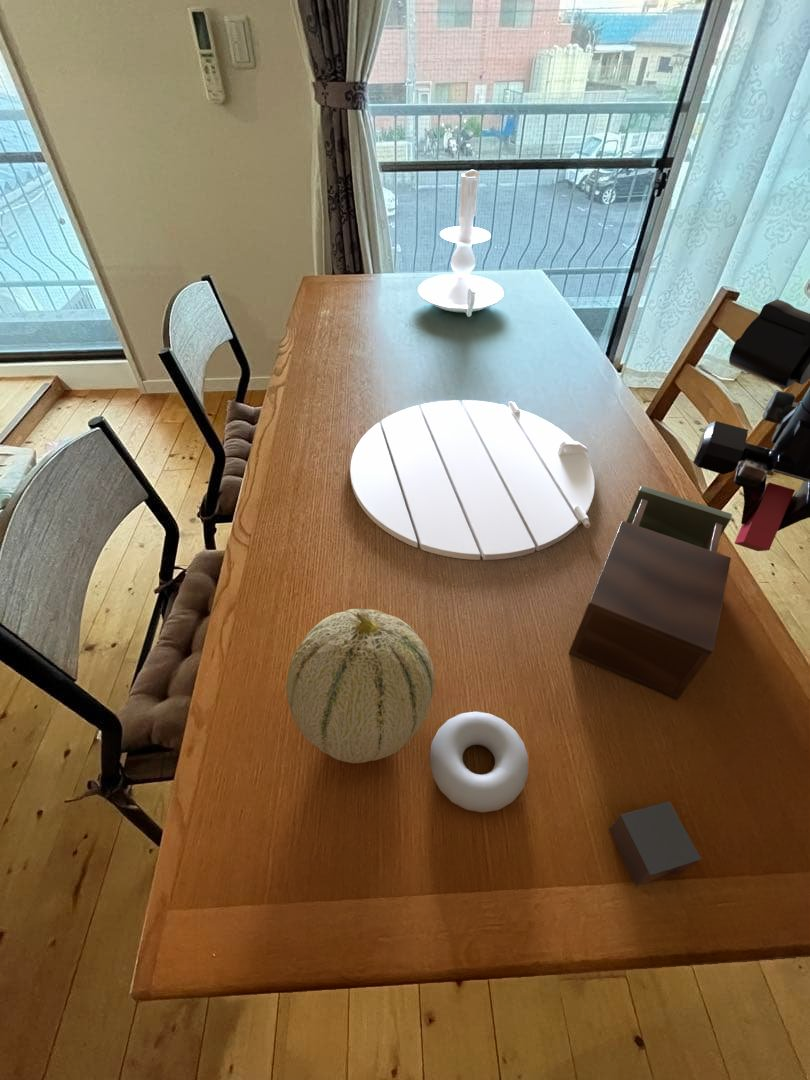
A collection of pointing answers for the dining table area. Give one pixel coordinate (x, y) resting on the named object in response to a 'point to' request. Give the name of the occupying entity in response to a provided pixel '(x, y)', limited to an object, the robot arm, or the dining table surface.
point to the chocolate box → (765, 518)
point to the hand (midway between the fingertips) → (756, 526)
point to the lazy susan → (472, 479)
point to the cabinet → (653, 610)
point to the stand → (653, 843)
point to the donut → (467, 785)
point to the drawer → (678, 518)
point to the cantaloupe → (360, 685)
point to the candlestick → (463, 261)
